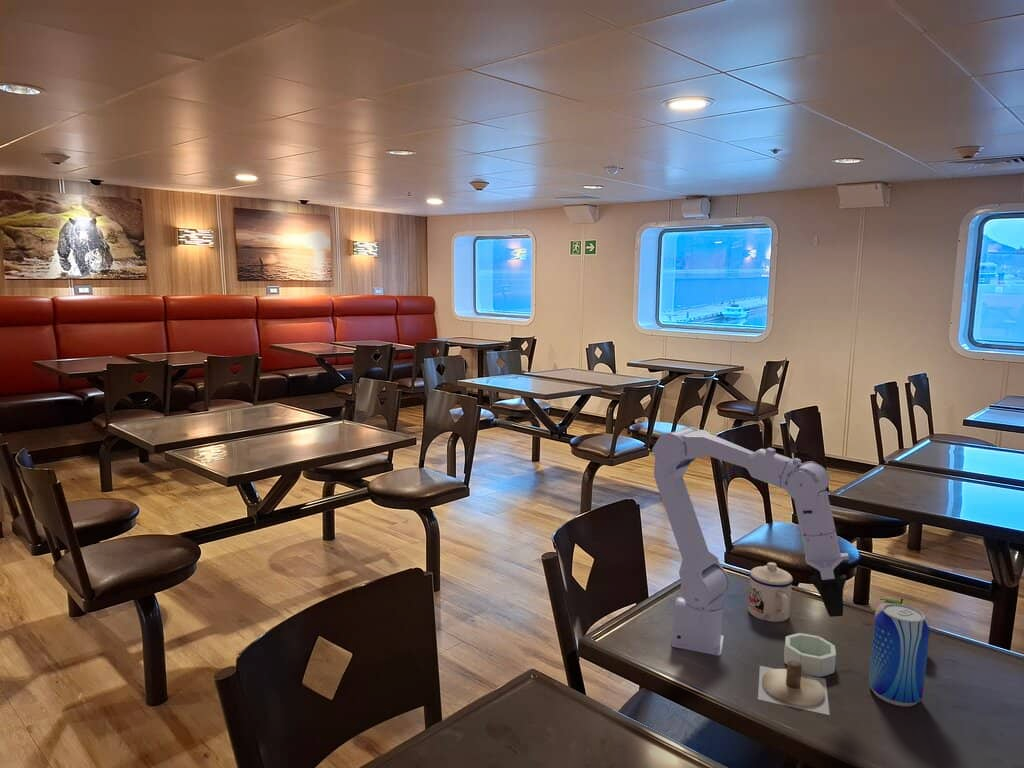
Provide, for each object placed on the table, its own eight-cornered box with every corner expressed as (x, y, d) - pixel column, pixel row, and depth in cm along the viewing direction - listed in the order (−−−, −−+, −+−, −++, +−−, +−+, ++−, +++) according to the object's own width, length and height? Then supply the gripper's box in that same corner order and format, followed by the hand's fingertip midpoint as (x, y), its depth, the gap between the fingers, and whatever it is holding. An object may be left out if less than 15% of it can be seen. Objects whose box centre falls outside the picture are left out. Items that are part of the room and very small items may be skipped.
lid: (761, 698, 121) (763, 673, 120) (762, 667, 131) (764, 644, 130) (825, 712, 117) (828, 686, 117) (822, 680, 127) (824, 655, 126)
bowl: (784, 671, 130) (785, 651, 129) (784, 648, 138) (785, 630, 138) (835, 682, 127) (837, 661, 126) (832, 658, 135) (833, 639, 134)
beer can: (929, 713, 118) (939, 626, 116) (876, 706, 120) (885, 620, 117) (911, 685, 126) (920, 603, 124) (862, 679, 128) (870, 598, 125)
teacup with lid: (740, 604, 157) (743, 555, 155) (778, 603, 158) (781, 554, 156) (764, 630, 145) (768, 578, 144) (805, 629, 146) (809, 577, 144)
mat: (757, 701, 121) (757, 699, 121) (759, 667, 131) (759, 665, 131) (829, 717, 117) (829, 714, 117) (825, 681, 127) (825, 679, 127)
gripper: (846, 539, 113) (864, 621, 113) (839, 520, 127) (855, 593, 126) (800, 544, 116) (818, 624, 115) (798, 524, 130) (814, 596, 129)
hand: (834, 608), depth 121 cm, fingers open, 7 cm apart
